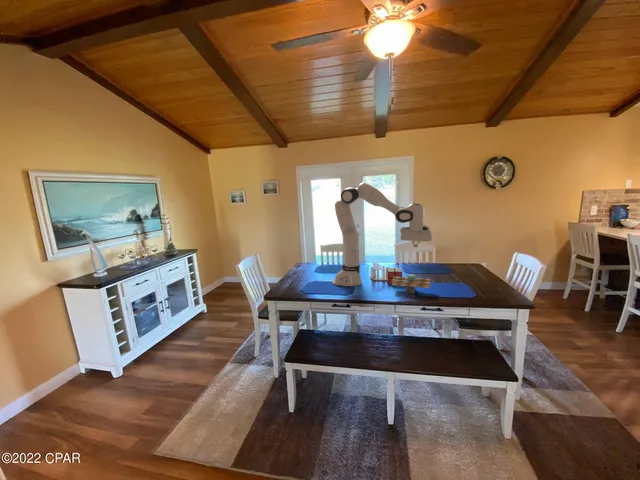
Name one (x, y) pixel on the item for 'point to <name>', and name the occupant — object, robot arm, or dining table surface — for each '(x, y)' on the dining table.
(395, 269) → the puzzle cube
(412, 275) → the rider
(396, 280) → the beam
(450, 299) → the dining table surface
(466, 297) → the dining table surface
